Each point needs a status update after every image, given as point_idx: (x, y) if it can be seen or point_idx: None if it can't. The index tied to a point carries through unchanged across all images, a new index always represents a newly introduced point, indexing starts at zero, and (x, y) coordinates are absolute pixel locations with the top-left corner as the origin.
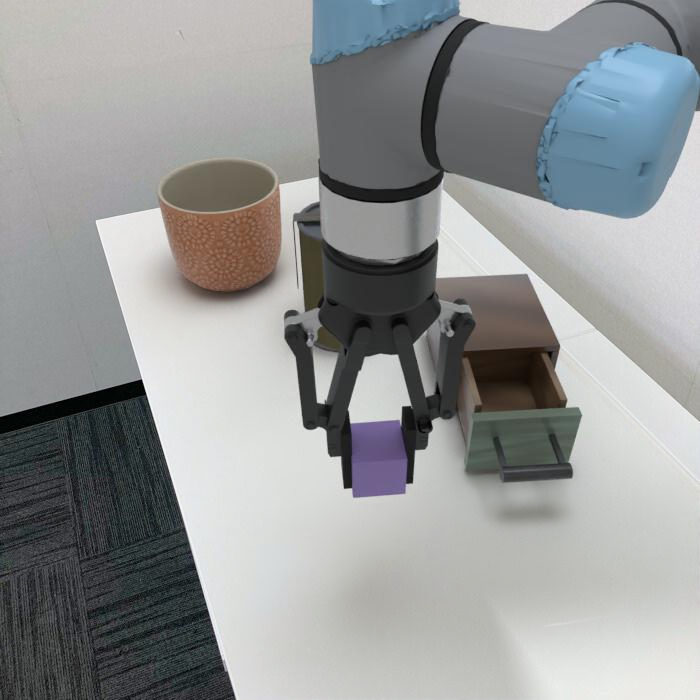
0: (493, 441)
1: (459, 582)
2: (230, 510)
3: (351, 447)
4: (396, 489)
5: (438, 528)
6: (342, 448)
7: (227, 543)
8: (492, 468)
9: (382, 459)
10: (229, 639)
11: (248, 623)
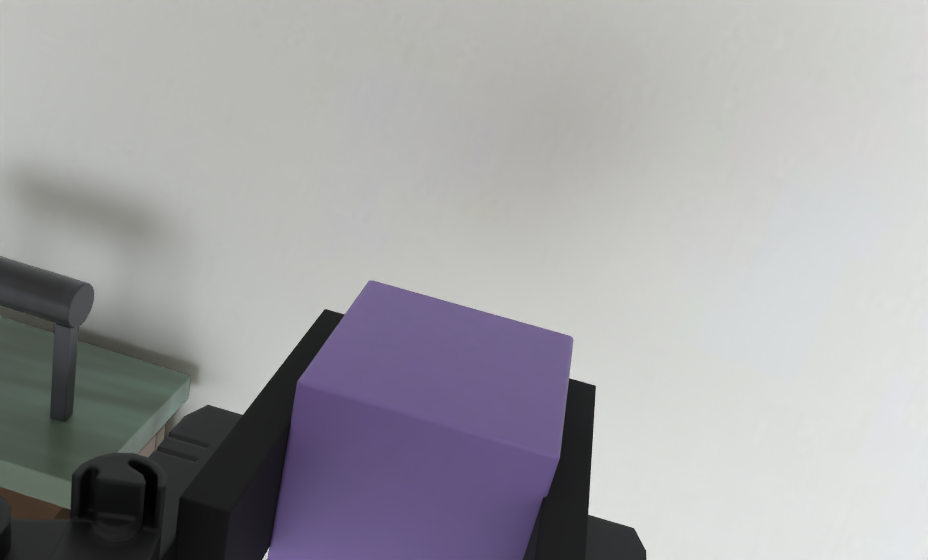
0: (70, 412)
1: (322, 88)
2: (822, 498)
3: (540, 535)
4: (397, 301)
5: (319, 252)
6: (585, 547)
7: (868, 413)
8: (124, 355)
9: (411, 422)
10: None
11: (907, 173)
